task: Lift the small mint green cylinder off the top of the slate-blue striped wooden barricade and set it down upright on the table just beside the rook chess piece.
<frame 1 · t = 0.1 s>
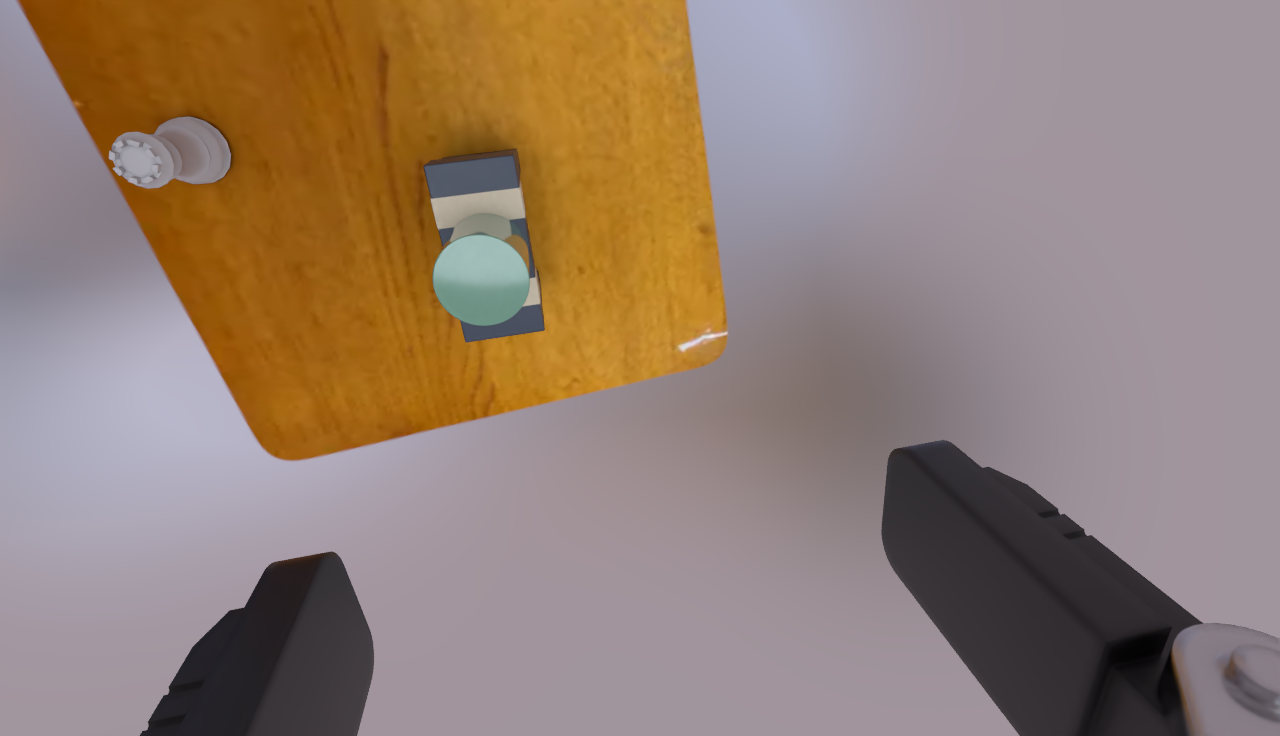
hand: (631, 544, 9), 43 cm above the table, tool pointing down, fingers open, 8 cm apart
mint green cylinder: (488, 254, 41), point 9 cm above the table, touching barricade
barricade: (494, 226, 49), on the table
rook chess piece: (200, 149, 43), on the table
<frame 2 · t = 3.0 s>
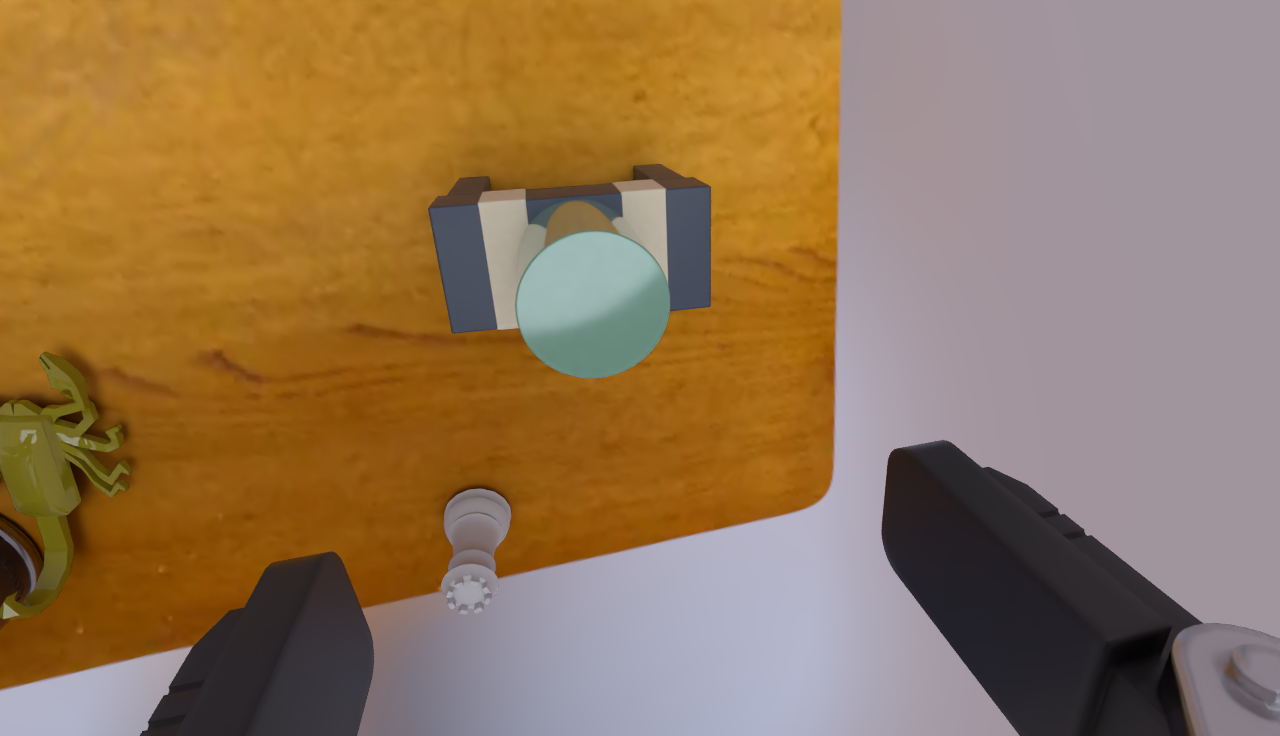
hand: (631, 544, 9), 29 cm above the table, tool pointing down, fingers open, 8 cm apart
mint green cylinder: (579, 261, 27), point 9 cm above the table, touching barricade
barricade: (567, 221, 35), on the table
scorpion: (56, 459, 36), on the table
rook chess piece: (478, 509, 42), on the table
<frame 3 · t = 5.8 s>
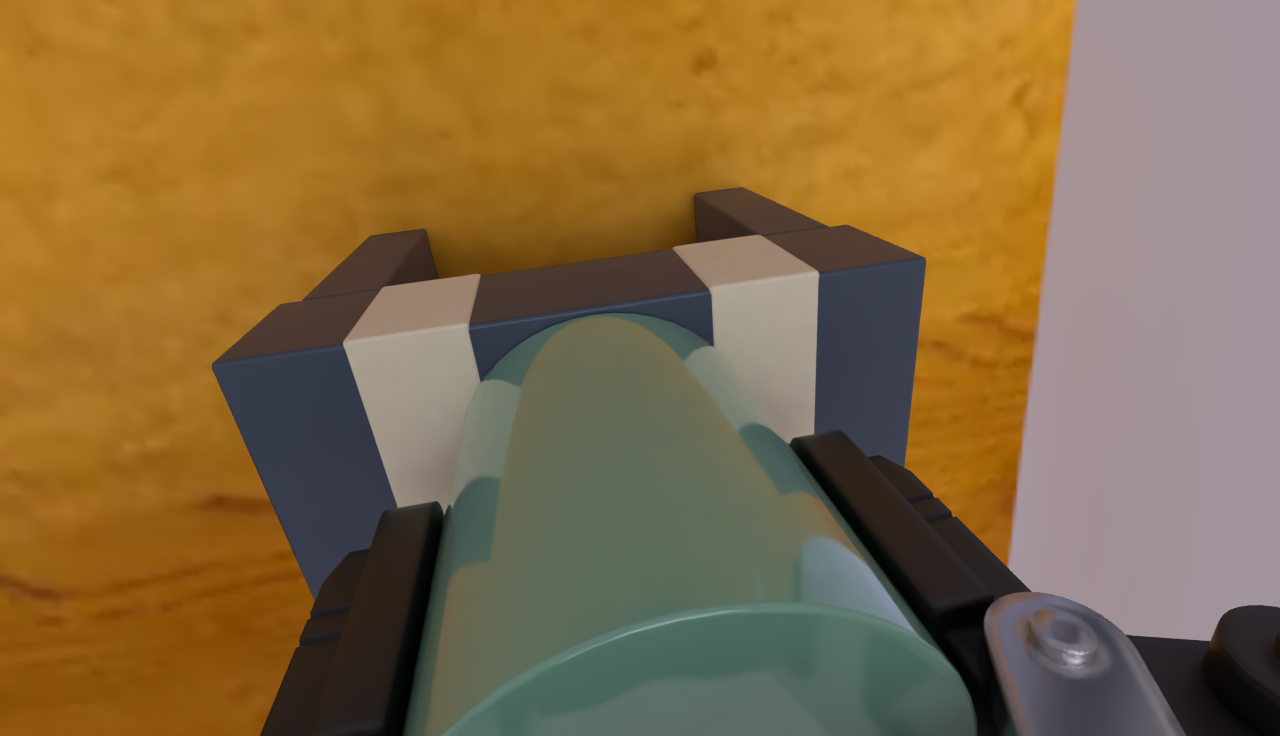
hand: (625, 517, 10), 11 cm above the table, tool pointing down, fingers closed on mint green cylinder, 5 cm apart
mint green cylinder: (611, 450, 11), point 9 cm above the table, touching barricade, gripper
barricade: (576, 299, 19), on the table
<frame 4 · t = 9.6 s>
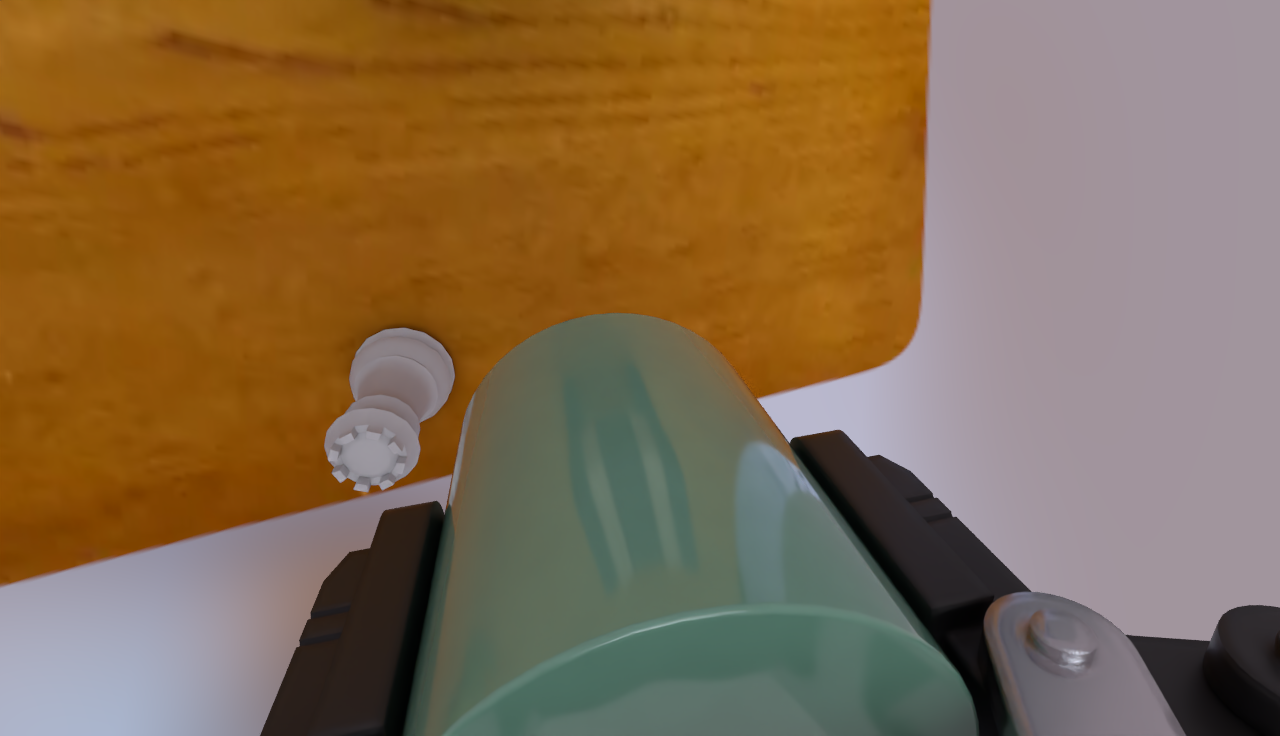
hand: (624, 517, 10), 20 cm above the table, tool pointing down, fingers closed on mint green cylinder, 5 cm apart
mint green cylinder: (611, 450, 11), point 18 cm above the table, touching gripper
rook chess piece: (407, 367, 29), on the table
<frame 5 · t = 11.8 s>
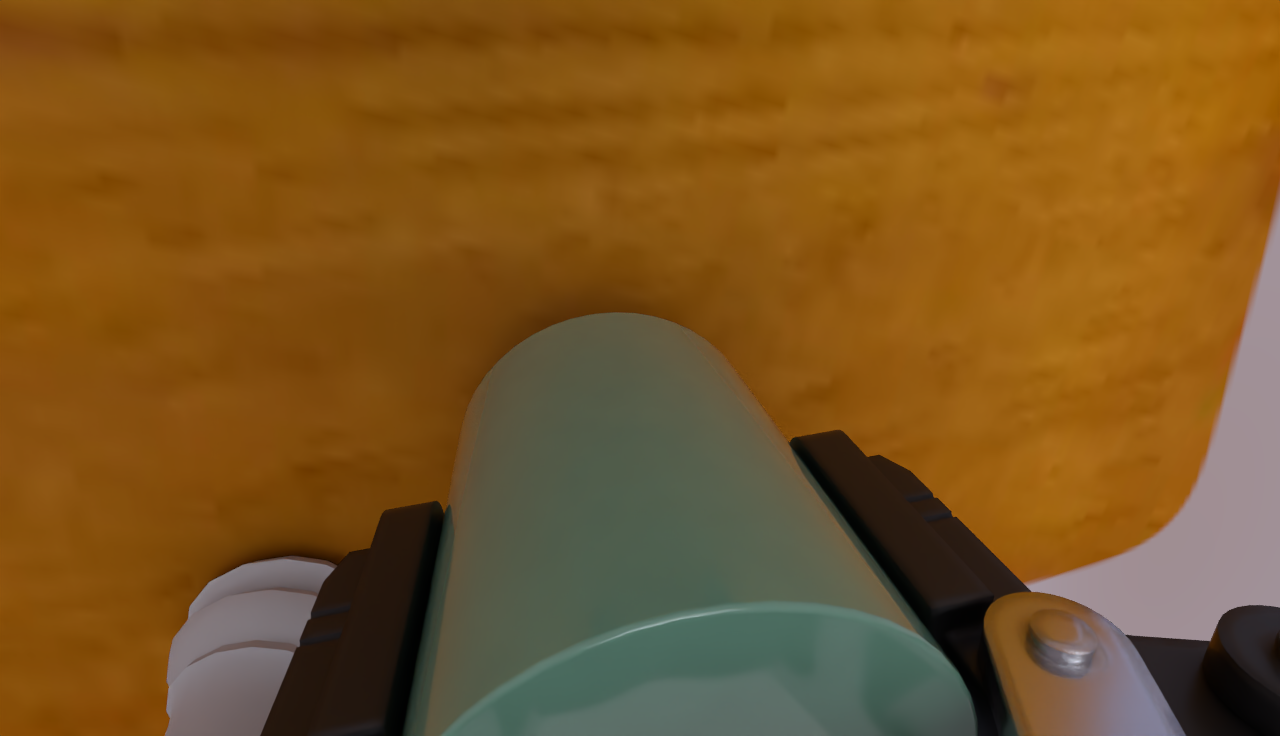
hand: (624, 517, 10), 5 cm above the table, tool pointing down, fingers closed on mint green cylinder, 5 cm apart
mint green cylinder: (611, 449, 11), point 3 cm above the table, touching gripper
rook chess piece: (300, 610, 15), on the table
when the fingers open (2 cm above the table, at t = 13.2 s): mint green cylinder stays where it is, on the table.
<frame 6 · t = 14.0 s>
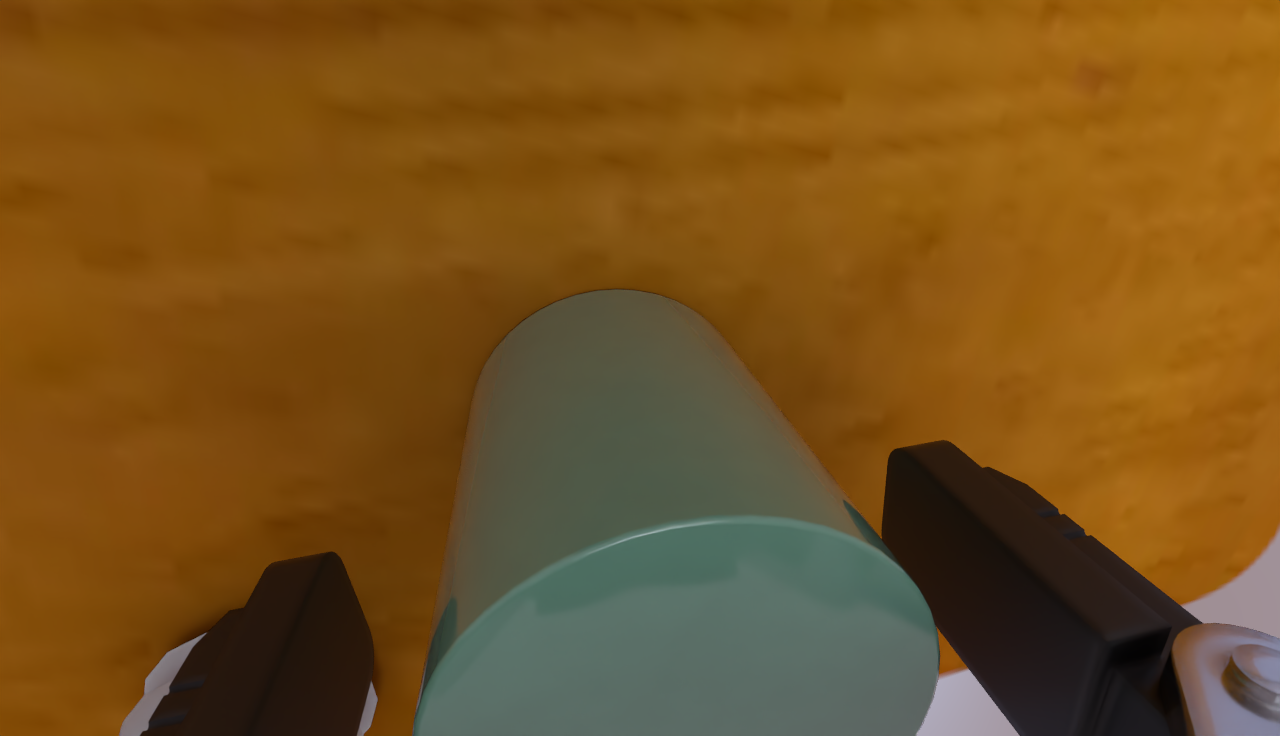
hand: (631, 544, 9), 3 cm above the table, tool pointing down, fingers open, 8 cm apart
mint green cylinder: (612, 420, 12), on the table
rook chess piece: (276, 676, 13), on the table
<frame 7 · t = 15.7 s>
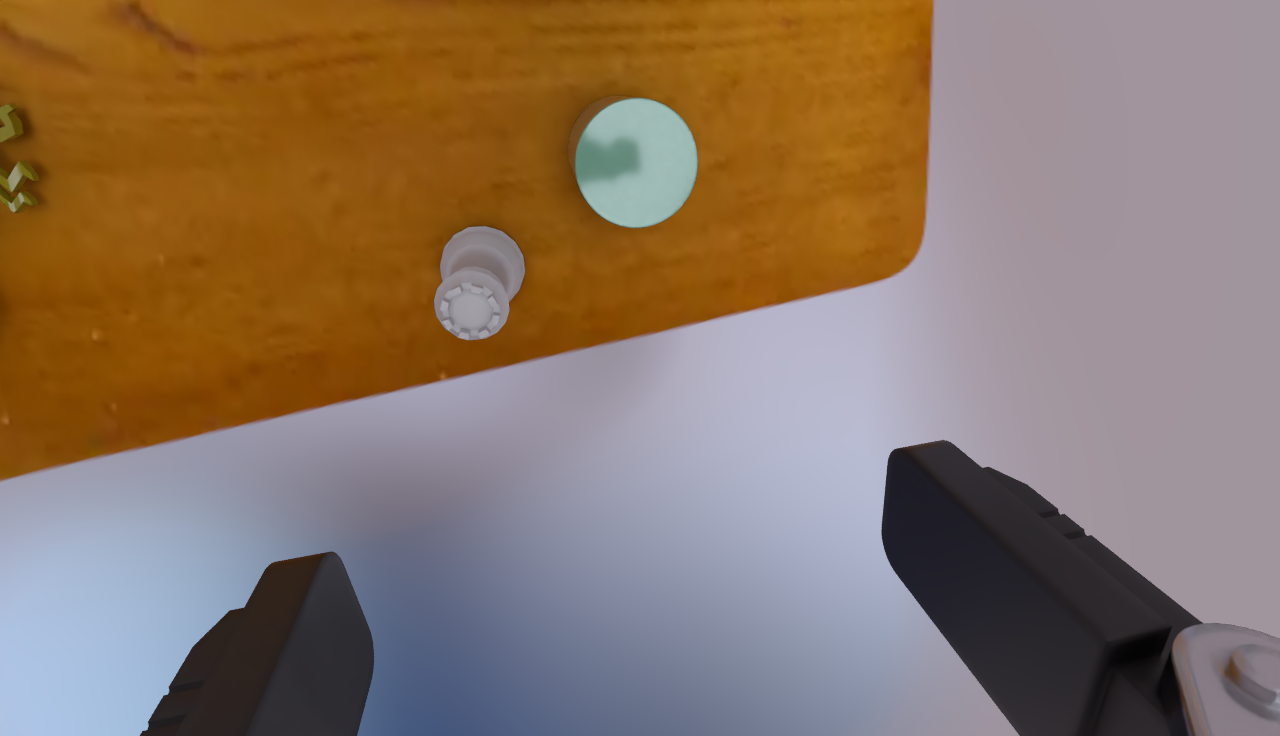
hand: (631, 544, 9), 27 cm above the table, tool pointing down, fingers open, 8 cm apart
mint green cylinder: (619, 151, 32), on the table
rook chess piece: (484, 263, 34), on the table
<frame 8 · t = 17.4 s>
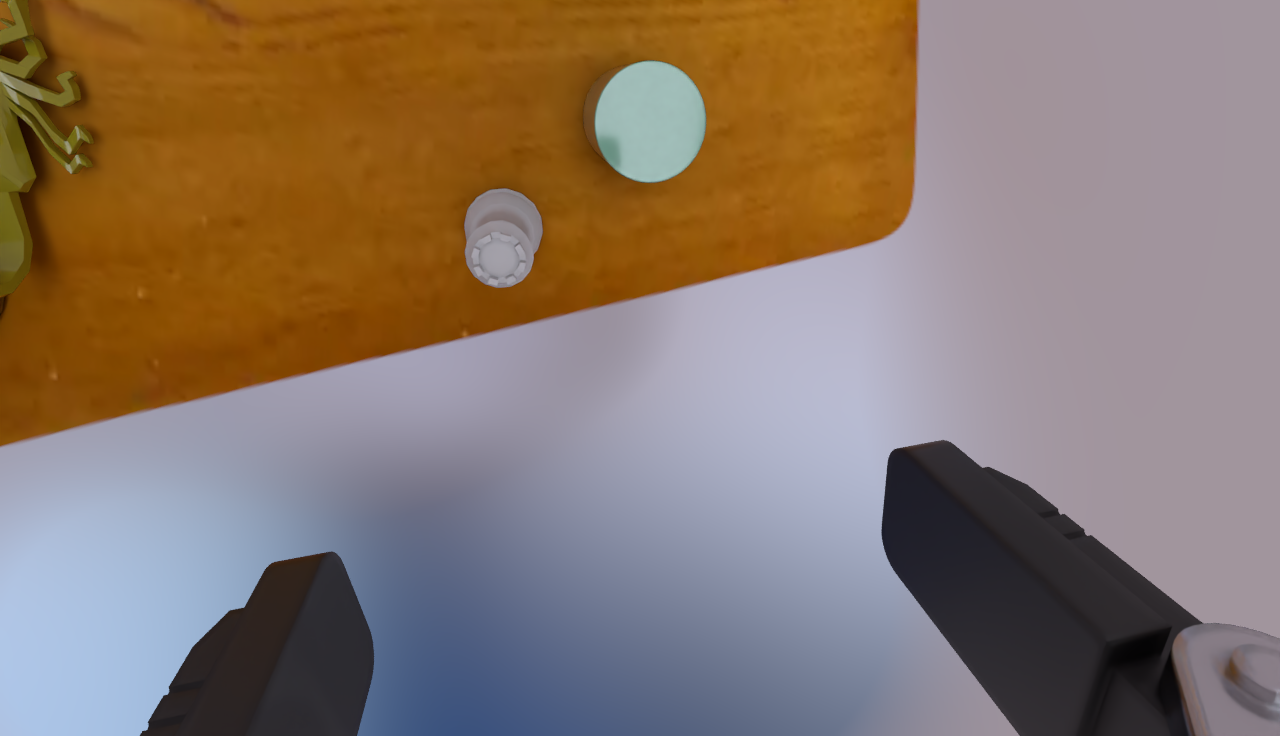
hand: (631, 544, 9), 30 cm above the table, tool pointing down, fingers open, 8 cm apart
mint green cylinder: (630, 118, 35), on the table
scorpion: (4, 129, 30), on the table
rook chess piece: (504, 225, 36), on the table
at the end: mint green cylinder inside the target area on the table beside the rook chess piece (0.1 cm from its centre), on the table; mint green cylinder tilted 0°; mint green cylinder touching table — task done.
